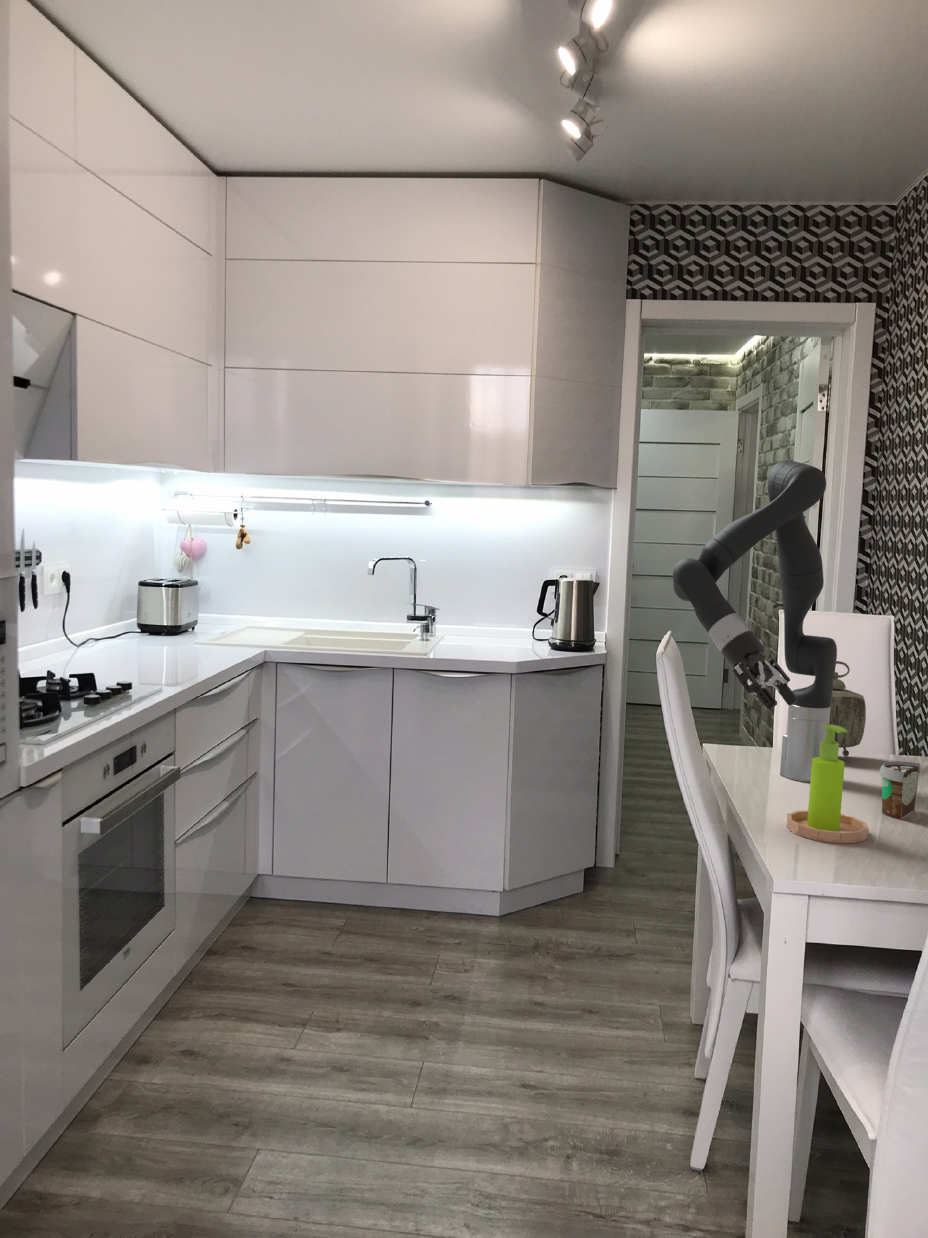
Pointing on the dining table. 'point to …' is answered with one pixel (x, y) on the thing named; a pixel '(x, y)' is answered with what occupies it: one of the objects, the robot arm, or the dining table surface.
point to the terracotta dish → (847, 833)
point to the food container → (899, 788)
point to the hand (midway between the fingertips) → (783, 704)
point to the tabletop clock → (847, 713)
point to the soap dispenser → (826, 783)
